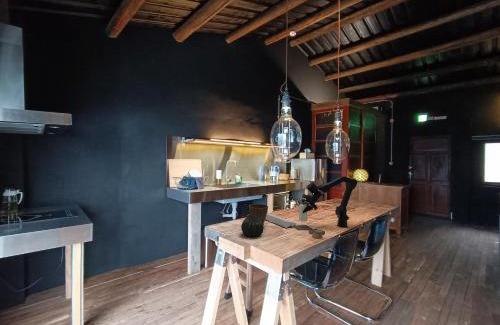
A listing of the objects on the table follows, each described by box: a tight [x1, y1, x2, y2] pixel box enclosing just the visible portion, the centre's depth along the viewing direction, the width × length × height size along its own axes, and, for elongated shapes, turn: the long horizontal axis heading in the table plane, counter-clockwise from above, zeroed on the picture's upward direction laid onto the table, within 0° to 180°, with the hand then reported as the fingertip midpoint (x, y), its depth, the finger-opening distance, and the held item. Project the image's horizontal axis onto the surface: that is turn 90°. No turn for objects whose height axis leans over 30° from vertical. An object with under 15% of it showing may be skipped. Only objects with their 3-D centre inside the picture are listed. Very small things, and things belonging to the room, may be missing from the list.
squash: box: [240, 213, 264, 238], centre depth 169 cm, size 14×15×15 cm
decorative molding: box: [265, 213, 297, 229], centre depth 204 cm, size 34×5×10 cm
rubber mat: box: [293, 224, 313, 231], centre depth 190 cm, size 11×10×1 cm
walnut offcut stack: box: [311, 229, 324, 240], centre depth 168 cm, size 5×5×4 cm
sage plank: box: [298, 204, 308, 222], centre depth 190 cm, size 5×4×12 cm
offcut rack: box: [308, 228, 326, 236], centre depth 177 cm, size 9×8×2 cm
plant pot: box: [248, 203, 269, 225], centre depth 190 cm, size 15×15×16 cm
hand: (301, 212), depth 189 cm, fingers closed on sage plank, 4 cm apart
